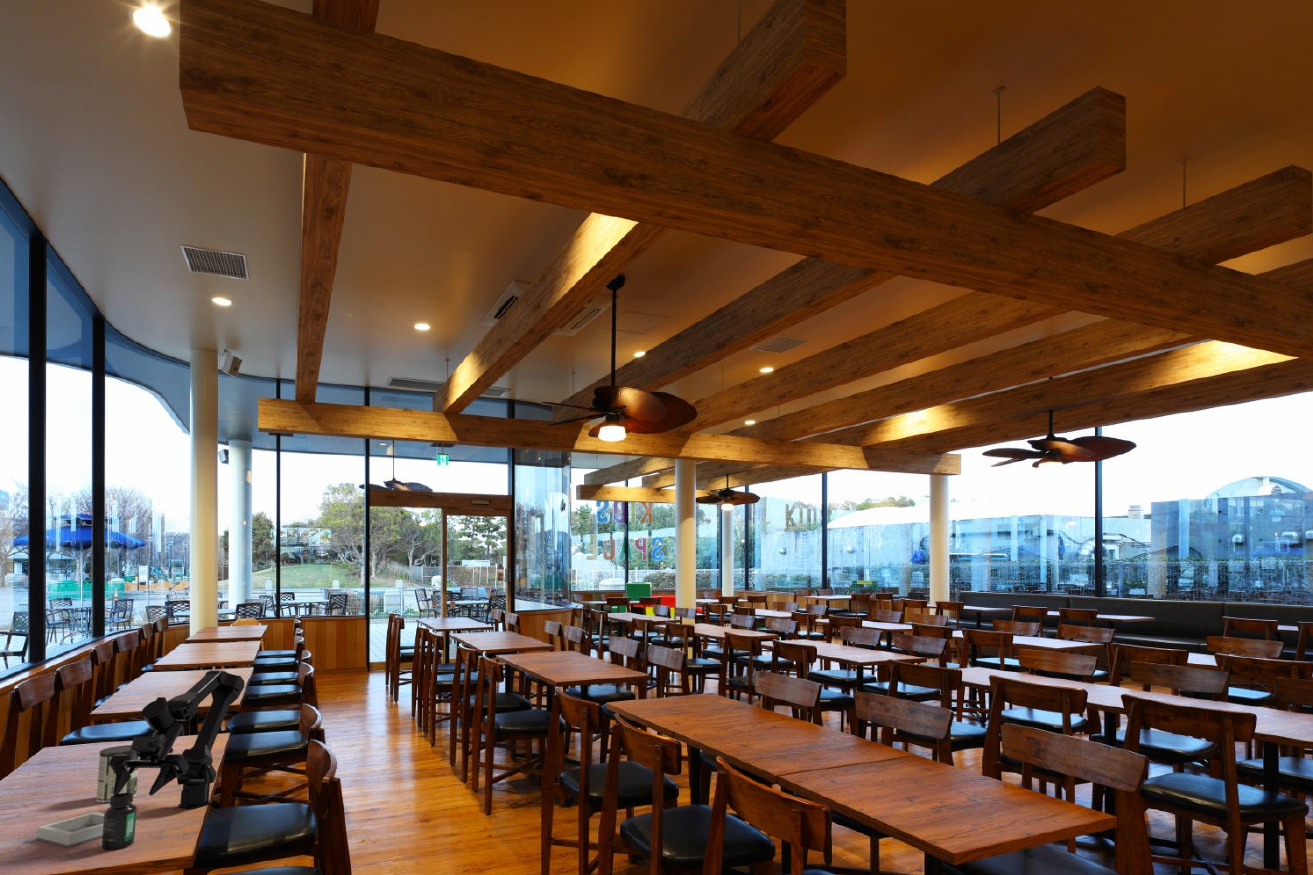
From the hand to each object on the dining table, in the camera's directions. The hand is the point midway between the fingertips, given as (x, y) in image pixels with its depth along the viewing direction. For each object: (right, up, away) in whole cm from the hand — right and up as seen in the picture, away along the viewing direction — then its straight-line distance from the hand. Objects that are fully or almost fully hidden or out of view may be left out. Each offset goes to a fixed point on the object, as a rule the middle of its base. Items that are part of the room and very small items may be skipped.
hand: (132, 794), depth 207 cm
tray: (-15, -12, +3) cm, 19 cm away
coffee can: (-28, -17, +35) cm, 48 cm away
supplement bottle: (0, -10, -6) cm, 12 cm away
